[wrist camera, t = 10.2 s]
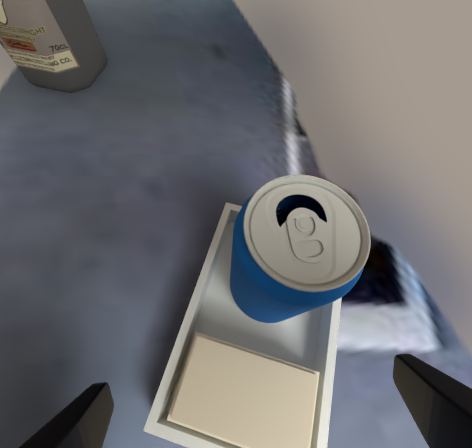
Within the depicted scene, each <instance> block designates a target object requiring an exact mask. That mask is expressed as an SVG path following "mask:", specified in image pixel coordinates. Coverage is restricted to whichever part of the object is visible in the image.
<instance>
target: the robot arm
mask: <svg viewBox="0 0 472 448" xmlns="http://www.w3.org/2000/svg"><path fill="white" fill-rule="evenodd" d="M393 379H394V383H395V385H396V387H397V389H398V391H399V393H400V394H401V396H402V398H403V400H404V402H405V404H406V406H407V408H408V409H409V411H410V413H411V415H412V417H413V419H414V421H415V422H416V424H417V426H418V428H419V430H420V432H421V434H422V435H423V437H424V439H425V441H426V442H427V444H428V446H429V447H430V448H472V389H471V388H469V387H468V386H466V385H464V384H462V383H460V382H459V381H457V380H455V379H453V378H452V377H450V376H448V375H446V374H445V373H443V372H441V371H439V370H438V369H436V368H434V367H432V366H430V365H429V364H427V363H425V362H423V361H422V360H420V359H418V358H416V357H415V356H413V355H411V354H400V355H396V356H395V358H394V368H393ZM113 408H114V403H113V398H112V395H111V391H110V387H109V385H108V383H106V382H104V383H95V384H92V385H91V386H90V387H89V388H87V389H86V390H85V391H84V392H83V393H82V394H81V395H79V396H78V397H77V398H76V399H75V400H74V401H72V402H71V403H70V404H69V405H68V406H67V407H65V408H64V409H63V410H62V411H61V412H60V413H58V414H57V415H56V416H55V417H54V418H53V419H52V420H50V421H49V422H48V423H47V424H46V425H45V426H43V427H42V428H41V429H40V430H39V431H38V432H36V433H35V434H34V435H33V436H32V437H31V438H29V439H28V440H27V441H26V442H25V443H24V444H23V445H21V446H20V447H19V448H102V446H103V442H104V439H105V436H106V432H107V429H108V426H109V423H110V419H111V416H112V413H113Z"/></svg>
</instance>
